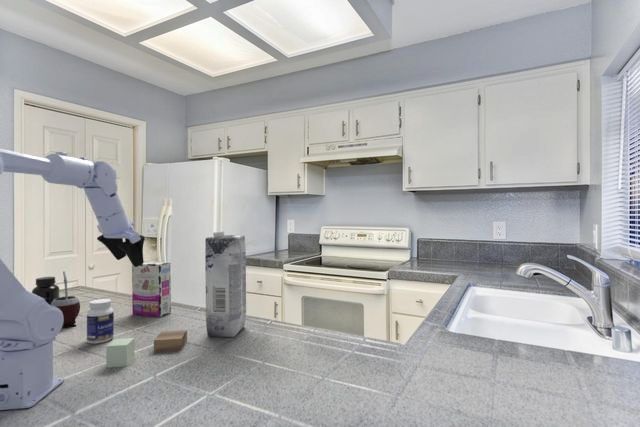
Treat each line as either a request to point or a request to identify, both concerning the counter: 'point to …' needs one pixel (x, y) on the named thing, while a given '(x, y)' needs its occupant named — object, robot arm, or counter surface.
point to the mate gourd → (67, 307)
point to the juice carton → (225, 284)
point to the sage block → (120, 352)
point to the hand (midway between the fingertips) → (130, 261)
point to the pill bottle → (100, 321)
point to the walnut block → (170, 340)
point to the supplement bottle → (46, 289)
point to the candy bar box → (151, 289)
